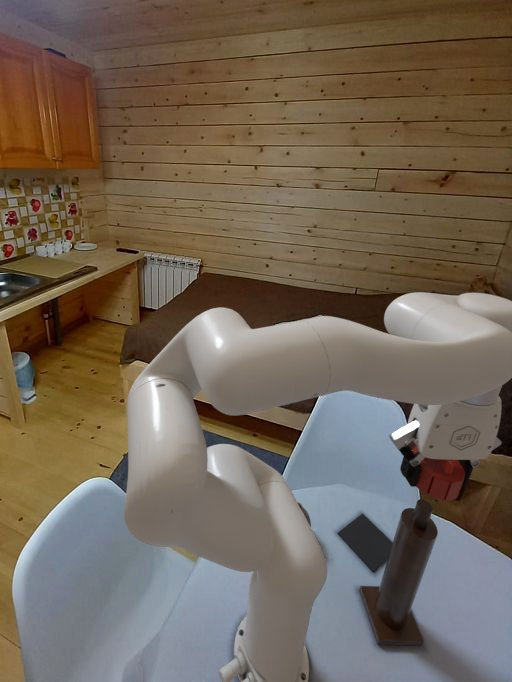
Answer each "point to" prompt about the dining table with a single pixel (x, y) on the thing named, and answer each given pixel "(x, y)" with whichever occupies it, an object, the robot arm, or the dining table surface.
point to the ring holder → (401, 579)
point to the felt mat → (367, 541)
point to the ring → (440, 478)
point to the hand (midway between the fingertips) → (432, 478)
